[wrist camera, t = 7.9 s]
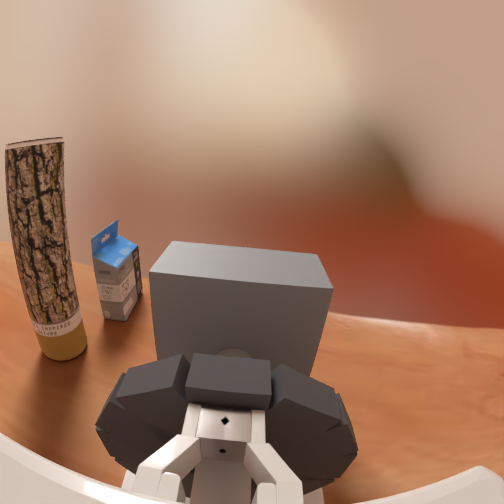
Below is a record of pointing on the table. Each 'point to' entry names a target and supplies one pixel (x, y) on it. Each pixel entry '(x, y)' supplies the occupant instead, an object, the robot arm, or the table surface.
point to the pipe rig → (237, 327)
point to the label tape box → (116, 273)
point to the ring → (230, 396)
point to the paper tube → (44, 244)
